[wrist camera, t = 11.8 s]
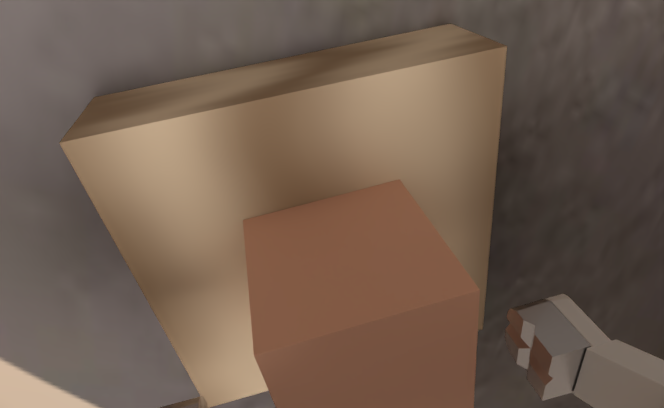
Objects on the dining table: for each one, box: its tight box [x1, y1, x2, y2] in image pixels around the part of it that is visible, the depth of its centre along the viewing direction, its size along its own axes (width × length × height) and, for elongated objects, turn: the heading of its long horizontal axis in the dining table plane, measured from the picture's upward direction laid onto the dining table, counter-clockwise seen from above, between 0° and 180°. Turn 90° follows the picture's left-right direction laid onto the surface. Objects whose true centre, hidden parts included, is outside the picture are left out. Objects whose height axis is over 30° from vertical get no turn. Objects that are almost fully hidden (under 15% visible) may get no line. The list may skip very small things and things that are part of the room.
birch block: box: [59, 24, 507, 408], centre depth 16 cm, size 12×12×4 cm
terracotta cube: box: [243, 179, 480, 408], centre depth 12 cm, size 5×5×5 cm
